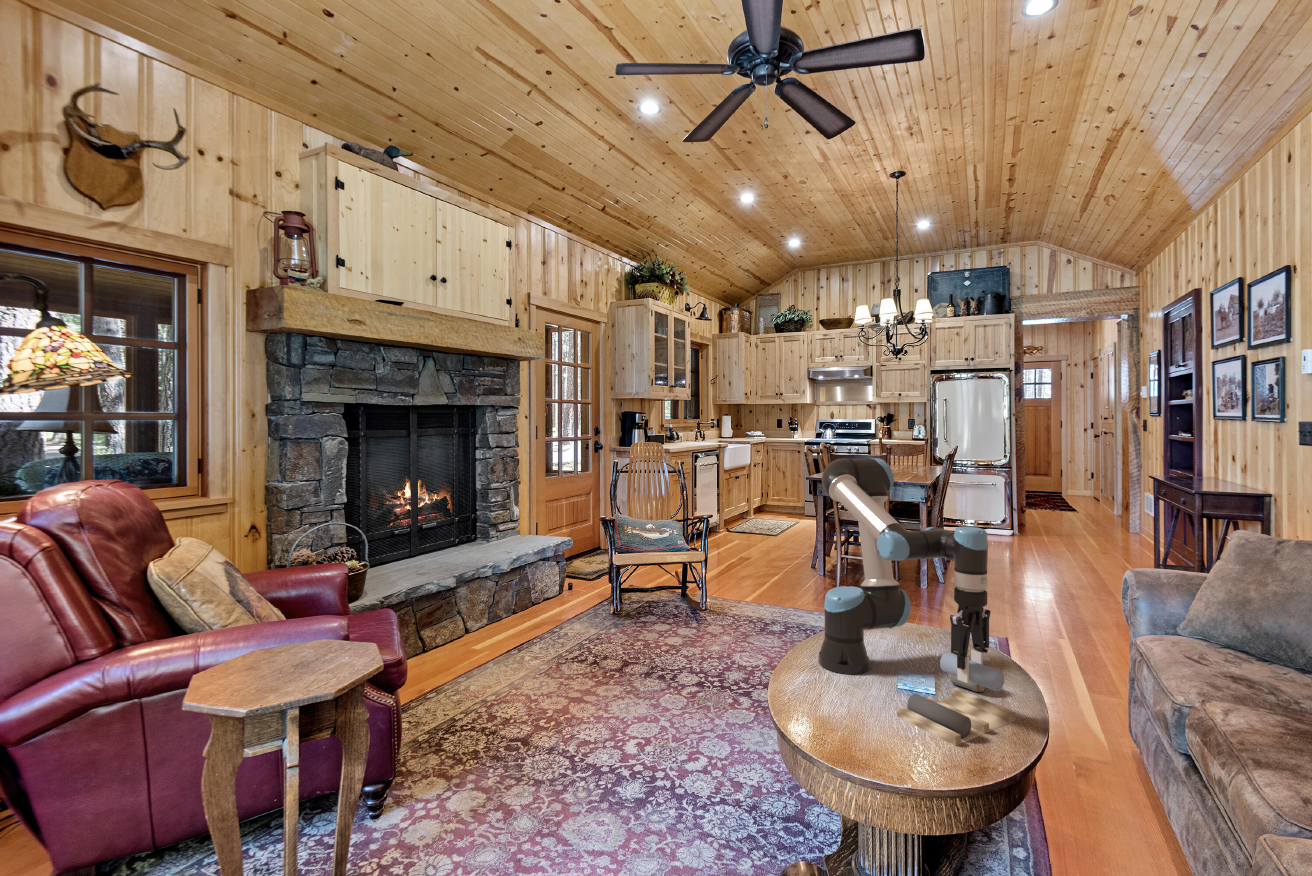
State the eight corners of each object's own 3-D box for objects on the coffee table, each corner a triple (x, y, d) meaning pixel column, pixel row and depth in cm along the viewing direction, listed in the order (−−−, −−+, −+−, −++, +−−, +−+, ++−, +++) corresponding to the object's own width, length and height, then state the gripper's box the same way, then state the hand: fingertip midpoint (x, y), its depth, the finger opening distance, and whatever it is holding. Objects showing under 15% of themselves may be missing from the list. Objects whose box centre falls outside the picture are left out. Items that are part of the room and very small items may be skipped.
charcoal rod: (905, 713, 151) (908, 693, 152) (918, 713, 154) (921, 693, 154) (956, 738, 139) (960, 716, 139) (969, 738, 141) (972, 716, 142)
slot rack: (896, 718, 151) (897, 708, 151) (956, 697, 163) (956, 687, 163) (955, 748, 137) (955, 737, 137) (1015, 722, 149) (1015, 712, 149)
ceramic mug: (979, 697, 163) (979, 669, 163) (948, 686, 169) (949, 660, 169) (994, 686, 170) (994, 659, 170) (964, 677, 176) (964, 651, 176)
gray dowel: (1004, 689, 147) (1004, 669, 147) (991, 693, 145) (992, 672, 145) (951, 669, 159) (952, 651, 159) (940, 673, 157) (940, 654, 157)
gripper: (962, 596, 144) (961, 692, 145) (1005, 587, 153) (1005, 676, 153) (934, 589, 151) (934, 680, 151) (977, 580, 160) (977, 666, 160)
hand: (970, 678), depth 152 cm, fingers closed on gray dowel, 5 cm apart
